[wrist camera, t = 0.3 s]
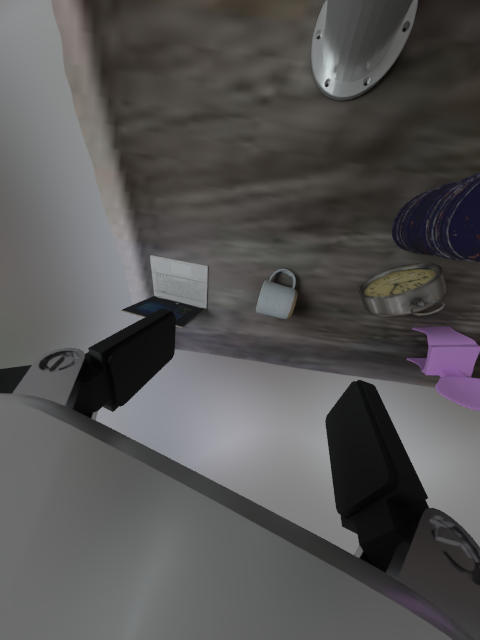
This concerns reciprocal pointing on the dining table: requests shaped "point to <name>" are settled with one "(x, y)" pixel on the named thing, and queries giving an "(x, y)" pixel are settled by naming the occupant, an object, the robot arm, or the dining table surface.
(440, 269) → the alarm clock
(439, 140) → the dining table surface
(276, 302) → the ceramic mug
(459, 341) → the toy chair
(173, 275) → the laptop
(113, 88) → the dining table surface
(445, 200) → the storage jar
